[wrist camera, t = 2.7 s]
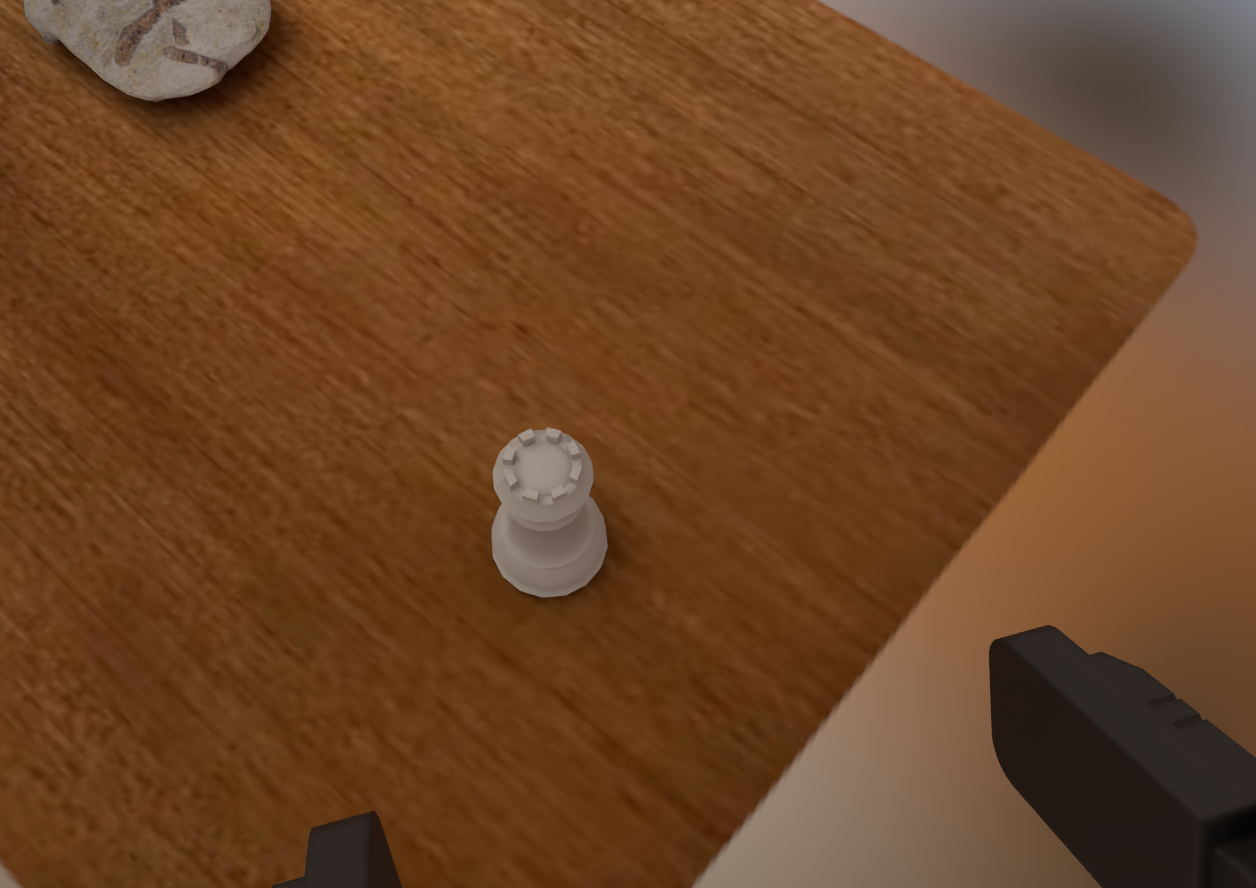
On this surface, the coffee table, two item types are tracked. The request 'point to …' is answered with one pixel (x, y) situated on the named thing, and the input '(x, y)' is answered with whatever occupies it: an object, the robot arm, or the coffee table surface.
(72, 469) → the coffee table surface
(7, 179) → the coffee table surface
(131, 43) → the stone
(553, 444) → the rook chess piece
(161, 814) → the coffee table surface
